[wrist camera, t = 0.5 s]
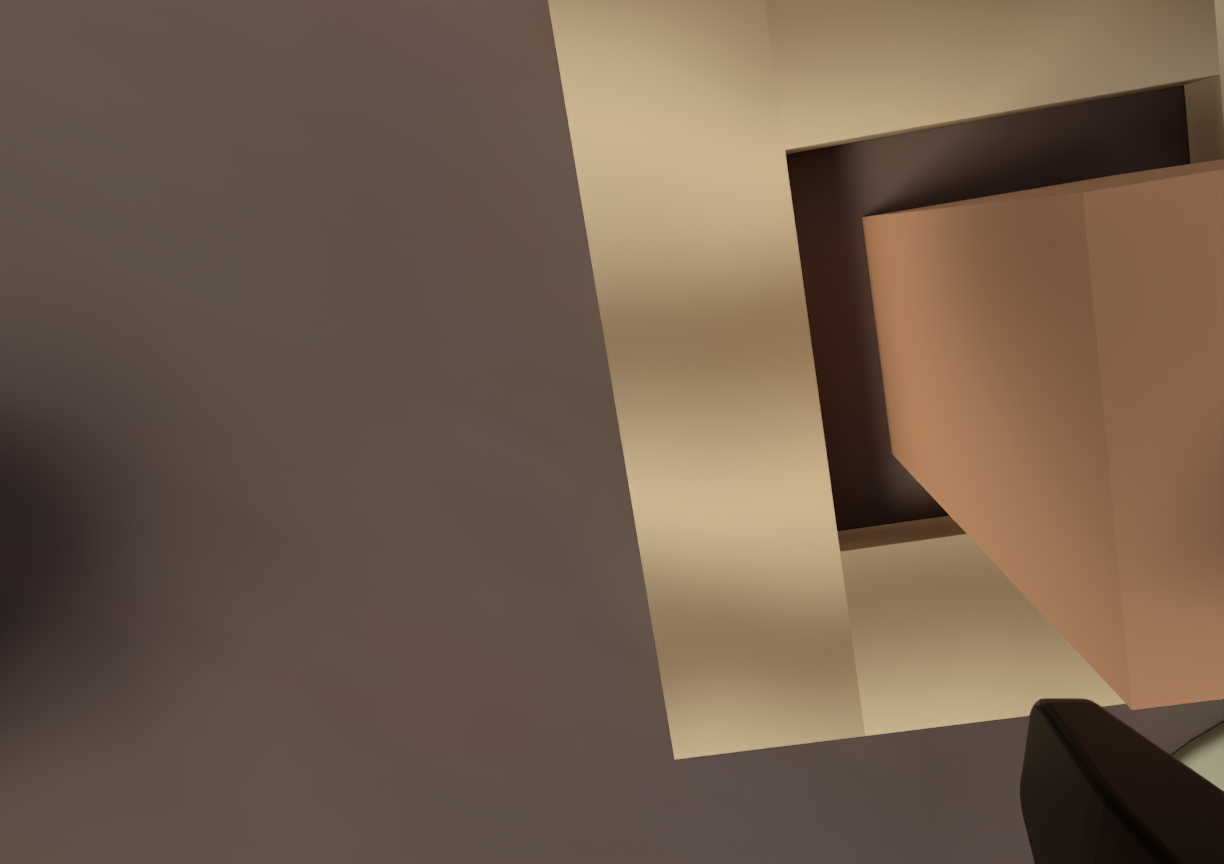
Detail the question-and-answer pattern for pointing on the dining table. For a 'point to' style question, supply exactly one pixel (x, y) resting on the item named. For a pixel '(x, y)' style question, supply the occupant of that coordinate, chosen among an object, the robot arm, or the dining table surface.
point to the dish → (1206, 755)
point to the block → (1074, 405)
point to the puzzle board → (781, 343)
